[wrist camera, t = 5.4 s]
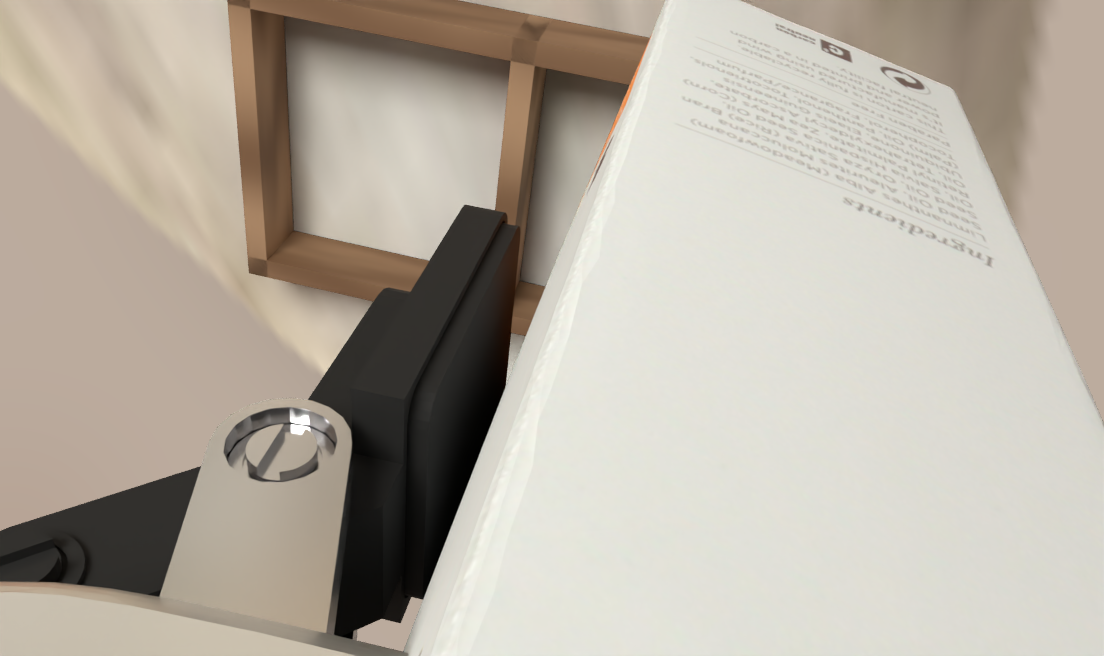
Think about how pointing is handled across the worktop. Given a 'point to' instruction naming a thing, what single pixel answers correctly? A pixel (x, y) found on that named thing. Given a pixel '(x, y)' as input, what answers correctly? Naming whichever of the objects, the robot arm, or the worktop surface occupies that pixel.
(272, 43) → the wooden frame
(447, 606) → the skincare box
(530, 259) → the worktop surface
